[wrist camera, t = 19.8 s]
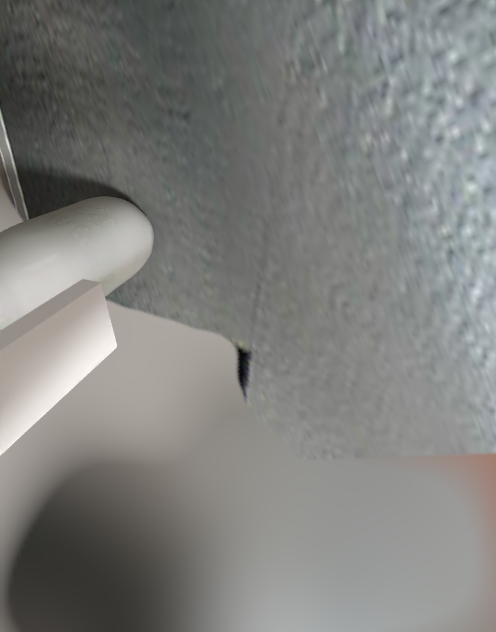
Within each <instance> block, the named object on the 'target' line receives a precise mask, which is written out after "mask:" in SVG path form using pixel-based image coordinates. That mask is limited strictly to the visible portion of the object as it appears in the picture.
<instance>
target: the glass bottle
mask: <svg viewBox="0 0 496 632" xmlns="http://www.w3.org/2000/svg"><path fill="white" fill-rule="evenodd" d="M153 242H154V233H153V228H152V226H151V223H150V221H149V220H148V218H147V217H146V216H145V215H144V214H143V212H142V211H140V210H139V209H138V208H137V207H136V206H135V205H133V204H132V203H130V202H128V201H126V200H123V199H120V198H116V197H108V196H102V197H94V198H89V199H86V200H83V201H80V202H77V203H74V204H72V205H69V206H66V207H64V208H61V209H58V210H56V211H53V212H50V213H47V214H44V215H41V216H38V217H35V218H33V219H30V220H27V221H25V222H22V223H20V224H17V225H15V226H12V227H10V228H8V229H6V230H4V231H2V232H1V233H0V330H2V329H4V328H5V327H7V326H8V325H10V324H12V323H13V322H15V321H16V320H18V319H20V318H21V317H23V316H24V315H26V314H28V313H29V312H31V311H32V310H34V309H35V308H37V307H39V306H40V305H42V304H43V303H45V302H47V301H48V300H50V299H51V298H53V297H55V296H56V295H58V294H59V293H61V292H63V291H64V290H66V289H67V288H69V287H71V286H72V285H74V284H75V283H77V282H78V281H80V280H82V279H86V280H91V281H96V282H101V284H102V288H103V292H104V296H105V297H106V296H107V295H108V294H109V293H111V292H112V291H113V290H114V289H116V288H117V287H118V286H120V285H121V284H122V283H124V282H125V281H127V280H128V279H129V278H131V277H132V276H133V275H134V274H136V273H137V272H138V271H139V270H140V269H141V268H142V266H143V265H144V264H145V262H146V261H147V259H148V258H149V256H150V254H151V252H152V248H153Z"/></svg>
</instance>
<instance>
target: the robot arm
mask: <svg viewBox="0 0 496 632" xmlns="http://www.w3.org/2000/svg"><path fill="white" fill-rule="evenodd" d="M116 347H117V344H116V340H115V336H114V332H113V328H112V325H111V321H110V316H109V312H108V309H107V304H106V300H105V296H104V292H103V288H102V284H101V282H96V281H91V280H86V279H82V280H80V281H78V282H77V283H75V284H74V285H72V286H71V287H69V288H67V289H66V290H64V291H63V292H61V293H59V294H58V295H56V296H55V297H53V298H51V299H50V300H48V301H47V302H45V303H43V304H42V305H40V306H39V307H37V308H35V309H34V310H32V311H31V312H29V313H28V314H26V315H24V316H23V317H21V318H20V319H18V320H16V321H15V322H13V323H12V324H10V325H8V326H7V327H5V328H4V329H2V330H0V455H1V454H2V453H3V452H5V451H6V450H7V449H8V448H9V447H10V446H11V445H12V444H13V443H14V442H15V441H16V440H18V438H20V437H21V436H22V435H23V434H24V433H25V432H26V431H27V430H28V429H29V428H30V427H31V426H33V425H34V423H36V422H37V421H38V420H39V419H40V418H41V417H42V416H43V415H44V414H45V413H47V412H48V411H49V410H50V409H51V408H52V407H53V406H54V405H55V404H56V403H57V402H58V401H59V400H60V399H62V398H63V397H64V396H65V395H66V394H67V393H68V392H69V391H70V390H71V389H72V388H73V387H74V386H76V385H77V384H78V383H79V382H80V381H81V380H82V379H83V378H84V377H85V376H86V375H87V374H88V373H89V372H91V371H92V370H93V369H94V368H95V367H96V366H97V365H98V364H99V363H100V362H101V361H102V360H103V359H105V358H106V357H107V356H108V355H109V354H110V353H111V352H112V351H113V350H114V349H115V348H116Z"/></svg>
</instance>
